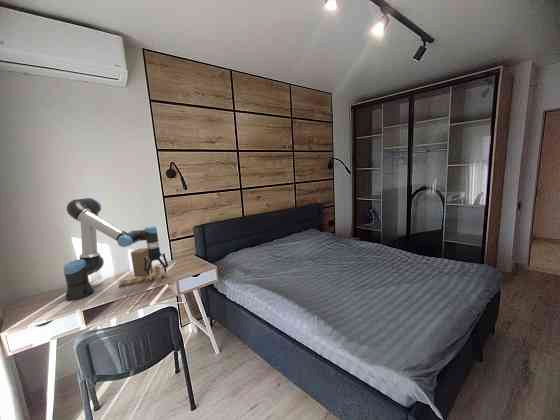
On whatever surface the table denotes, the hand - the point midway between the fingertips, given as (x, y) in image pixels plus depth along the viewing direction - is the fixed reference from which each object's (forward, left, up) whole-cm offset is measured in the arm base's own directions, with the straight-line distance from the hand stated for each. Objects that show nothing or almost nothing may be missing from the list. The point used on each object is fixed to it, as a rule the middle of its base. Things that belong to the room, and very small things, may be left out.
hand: (157, 277), depth 186 cm
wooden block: (-11, +25, -3) cm, 28 cm away
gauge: (0, +4, -3) cm, 5 cm away
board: (-10, +8, -3) cm, 13 cm away
